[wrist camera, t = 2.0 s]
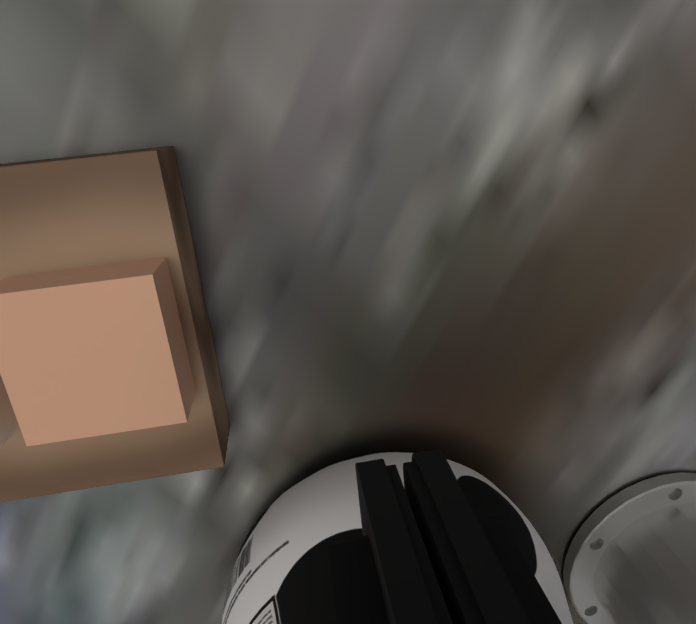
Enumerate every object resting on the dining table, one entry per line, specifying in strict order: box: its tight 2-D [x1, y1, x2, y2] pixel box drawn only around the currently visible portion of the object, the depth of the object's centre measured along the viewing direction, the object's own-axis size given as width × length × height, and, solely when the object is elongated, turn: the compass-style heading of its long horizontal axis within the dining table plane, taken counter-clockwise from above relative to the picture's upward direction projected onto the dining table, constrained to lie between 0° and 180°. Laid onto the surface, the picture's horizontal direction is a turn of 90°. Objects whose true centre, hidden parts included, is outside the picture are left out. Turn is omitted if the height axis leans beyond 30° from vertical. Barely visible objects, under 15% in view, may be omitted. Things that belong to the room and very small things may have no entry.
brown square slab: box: [0, 146, 230, 502], centre depth 23 cm, size 14×14×4 cm
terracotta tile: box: [0, 257, 196, 446], centre depth 21 cm, size 6×6×2 cm
